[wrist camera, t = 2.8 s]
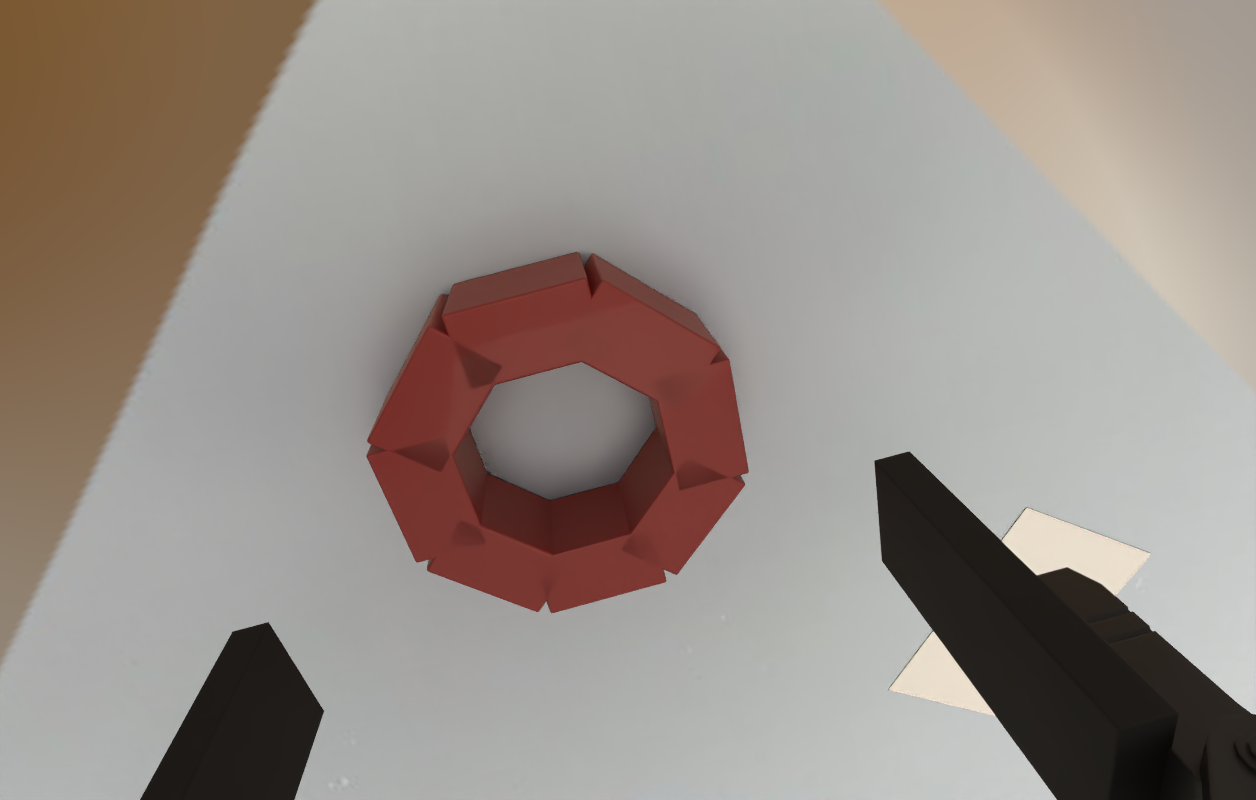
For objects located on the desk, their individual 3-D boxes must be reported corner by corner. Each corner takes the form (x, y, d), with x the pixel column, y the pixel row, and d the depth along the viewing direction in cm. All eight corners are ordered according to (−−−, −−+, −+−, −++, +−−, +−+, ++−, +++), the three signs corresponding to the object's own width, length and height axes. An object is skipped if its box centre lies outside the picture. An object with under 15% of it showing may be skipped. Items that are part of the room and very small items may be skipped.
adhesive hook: (954, 655, 29) (1000, 716, 26) (990, 610, 28) (1041, 668, 26) (1007, 670, 30) (1056, 730, 27) (1042, 626, 29) (1098, 684, 26)
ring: (309, 396, 20) (277, 443, 18) (597, 173, 19) (608, 188, 16) (535, 603, 25) (537, 666, 22) (782, 437, 23) (816, 484, 21)
